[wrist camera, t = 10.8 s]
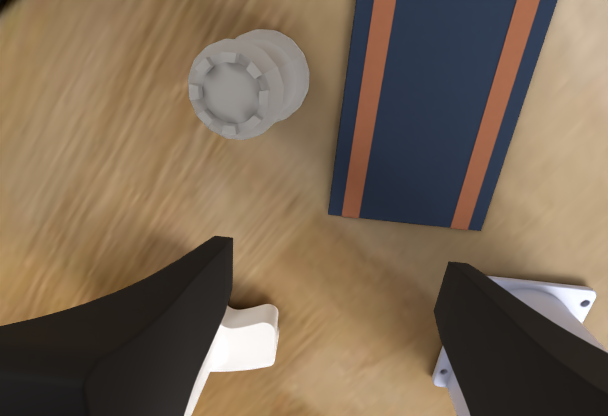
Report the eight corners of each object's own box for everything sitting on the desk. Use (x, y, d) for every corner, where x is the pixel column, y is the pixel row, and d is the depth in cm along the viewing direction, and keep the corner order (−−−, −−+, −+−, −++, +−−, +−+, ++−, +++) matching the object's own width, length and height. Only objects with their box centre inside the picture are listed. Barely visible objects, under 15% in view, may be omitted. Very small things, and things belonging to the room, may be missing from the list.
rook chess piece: (281, 10, 17) (249, -20, 10) (325, 94, 19) (325, 123, 11) (207, 59, 18) (128, 65, 11) (254, 135, 20) (212, 186, 12)
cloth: (479, 228, 21) (481, 231, 21) (328, 212, 21) (328, 214, 21) (581, -85, 15) (587, -88, 15) (370, -106, 15) (370, -108, 15)
